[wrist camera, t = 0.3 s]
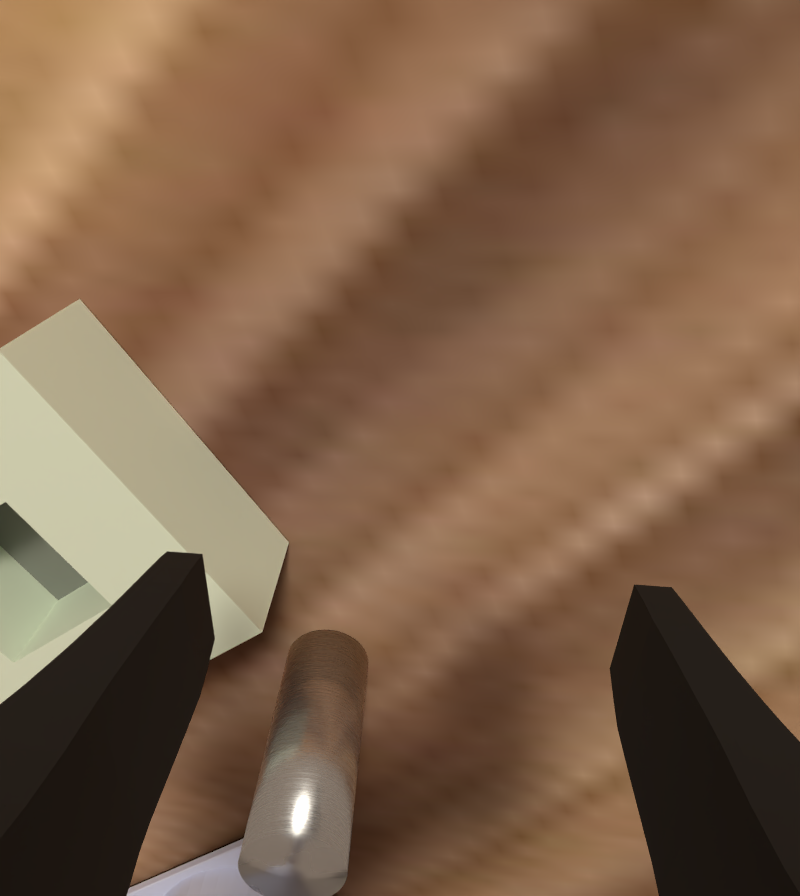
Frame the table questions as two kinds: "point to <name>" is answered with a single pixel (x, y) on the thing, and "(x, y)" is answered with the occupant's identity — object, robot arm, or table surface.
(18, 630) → the bore block
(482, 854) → the table surface
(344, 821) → the pin
